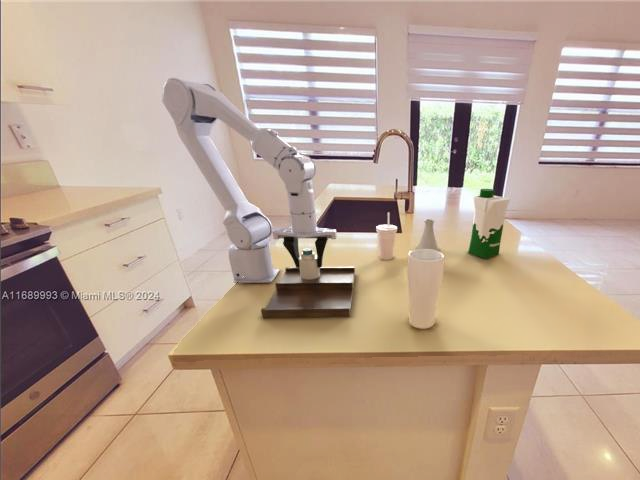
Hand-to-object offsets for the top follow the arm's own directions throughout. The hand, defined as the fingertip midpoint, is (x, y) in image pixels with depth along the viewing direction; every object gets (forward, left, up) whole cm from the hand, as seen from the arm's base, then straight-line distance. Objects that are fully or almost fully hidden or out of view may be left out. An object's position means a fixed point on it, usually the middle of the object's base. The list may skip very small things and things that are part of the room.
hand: (309, 266), depth 78 cm
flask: (+34, +25, -5) cm, 42 cm away
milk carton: (+52, +21, -5) cm, 56 cm away
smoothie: (+20, +18, -5) cm, 27 cm away
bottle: (0, 0, -3) cm, 3 cm away
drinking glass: (+26, -20, -5) cm, 33 cm away
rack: (+2, -6, -5) cm, 8 cm away
